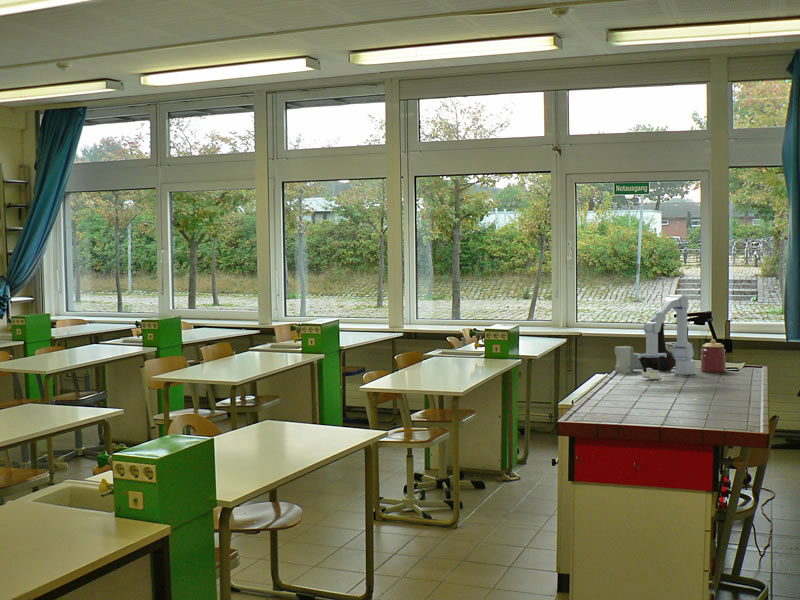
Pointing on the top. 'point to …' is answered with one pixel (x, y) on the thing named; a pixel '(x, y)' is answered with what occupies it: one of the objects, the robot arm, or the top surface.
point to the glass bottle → (669, 360)
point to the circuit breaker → (626, 359)
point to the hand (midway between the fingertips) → (652, 371)
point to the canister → (713, 357)
